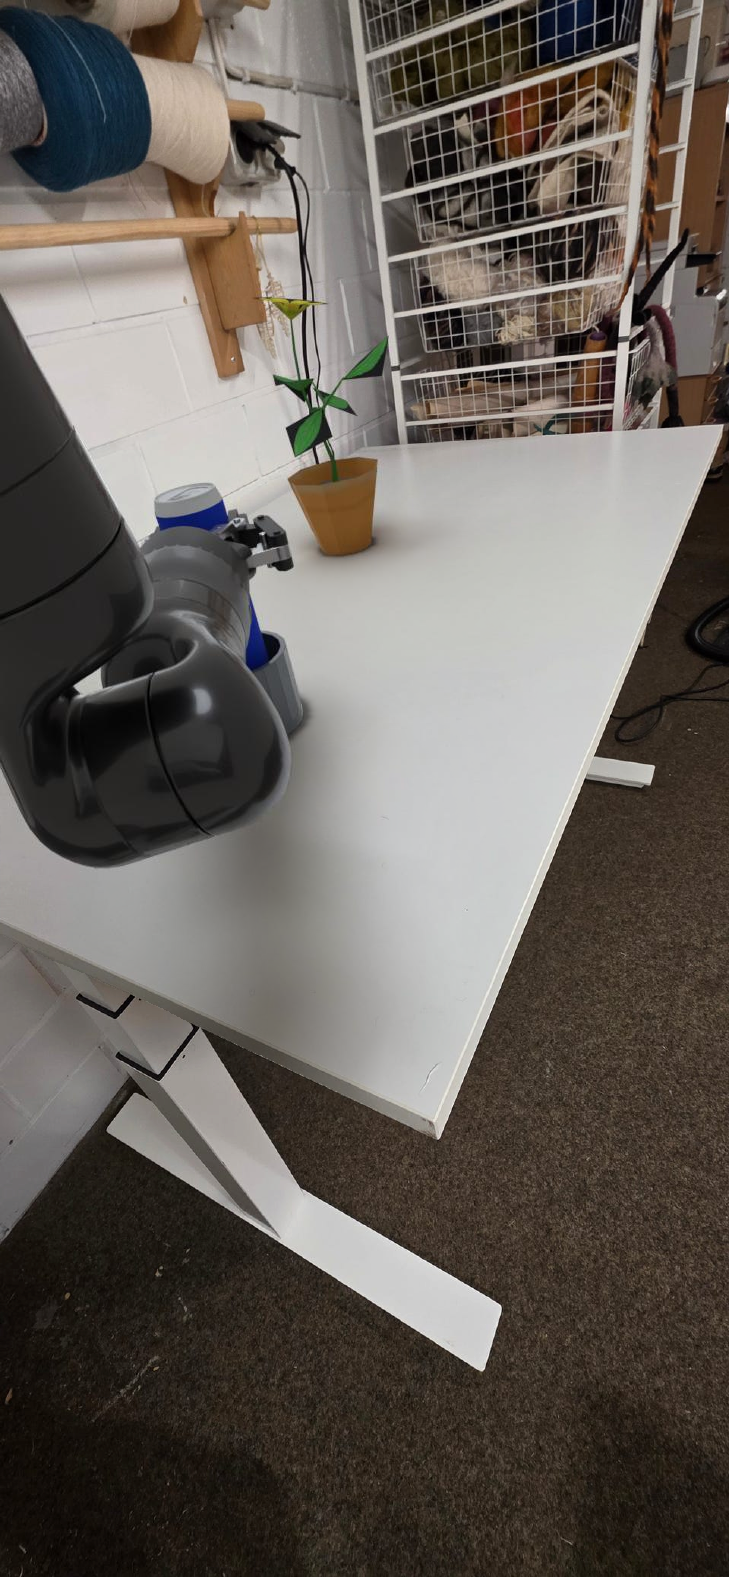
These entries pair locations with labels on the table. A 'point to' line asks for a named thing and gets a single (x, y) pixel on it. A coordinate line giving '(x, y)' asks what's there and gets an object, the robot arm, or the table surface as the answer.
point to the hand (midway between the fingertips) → (200, 530)
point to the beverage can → (206, 511)
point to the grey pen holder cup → (280, 681)
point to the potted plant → (331, 457)
